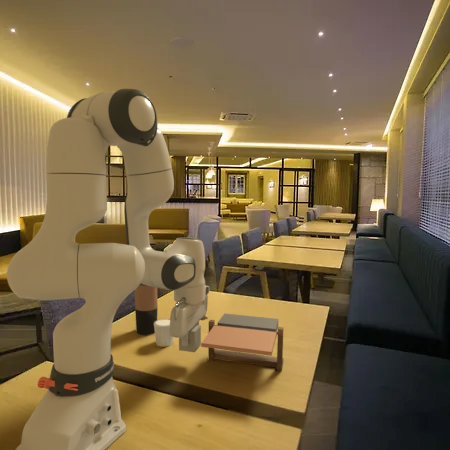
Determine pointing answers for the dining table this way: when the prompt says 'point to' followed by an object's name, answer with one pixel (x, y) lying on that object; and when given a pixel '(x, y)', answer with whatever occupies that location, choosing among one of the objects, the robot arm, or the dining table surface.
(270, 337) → the trapdoor
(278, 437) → the dining table surface
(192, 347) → the grey block
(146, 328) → the travel mug
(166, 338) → the shot glass
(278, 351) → the frame
